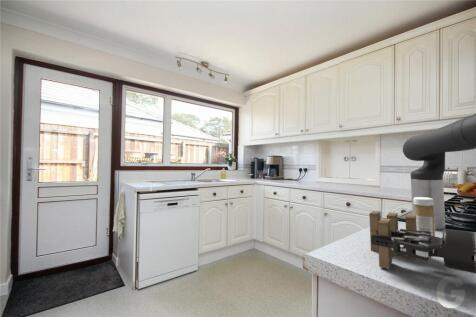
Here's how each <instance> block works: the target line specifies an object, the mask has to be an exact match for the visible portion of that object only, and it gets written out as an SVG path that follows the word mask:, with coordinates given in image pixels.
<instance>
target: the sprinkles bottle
mask: <svg viewBox="0 0 476 317" xmlns="http://www.w3.org/2000/svg"><path fill="white" fill-rule="evenodd" d="M413 201H414V206H415V215H416V225H417V231H429V232H431V236H435V237H436V229H435V224H434V211H433V207H434V206H433V205H434V199H432V198H426V197H415V198H414V199H413Z"/></svg>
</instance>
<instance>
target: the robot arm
mask: <svg viewBox="0 0 476 317" xmlns="http://www.w3.org/2000/svg"><path fill="white" fill-rule="evenodd" d="M471 150H476V113H473V114H471V115H468V116H466V117H463V118H461V119H458V120H456V121H454V122H451V123H449V124H447V125H444V126H442V127H441V126H440V127H439V128H436V129H434V130H432V131H430V132H426V133H422V134H417V135H413V136H411V137H409V138H408V139H407V140H406V141H405V142H404V143H403V145H402V153H403V155H404V157H405V158H407V159H408V160H411V161H414V162H423V163H422V166H421V167H419V168H418V169H414V170H412V171H410V190H411V191H410V192H411V193H410V194H411V211H412V212H411V214H414V215H415V206H414V201H413V199H414V198H415V197H426V198H432V199H434V205H433V206H434V207H433V211H434V224H435V230H442V237H438V236H436V235H435V236H431V232H429V231H417V230H406V228H405V229H404V228H399V229H398V230H396V231H391V237H388V236H381V235H378V229H377V230H376V234H373V235H372V236H371V241H370V244H371V243H372V244H373V245H378V246H383V247H389V248H391V249H392V250H393V252H394V253H396V254H397V255H401V256H406V257H407V256H408V257H412V258H416V259H415V260H420V261H424V262H430V258H433V257H435V258H442V259H443V265H444V267H446V268H447V269H451V270H455V271H461V272H466V273H470V274H475V275H476V232H475V231H466V230H459V229H458V230H457V229H451V228H450V229H449V228H446V215H445V214H446V213H445V209H446V208H445V194H444V193H445V192H444V173H445V171H446V153H451V152H452V153H455V152H464V151H471Z"/></svg>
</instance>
